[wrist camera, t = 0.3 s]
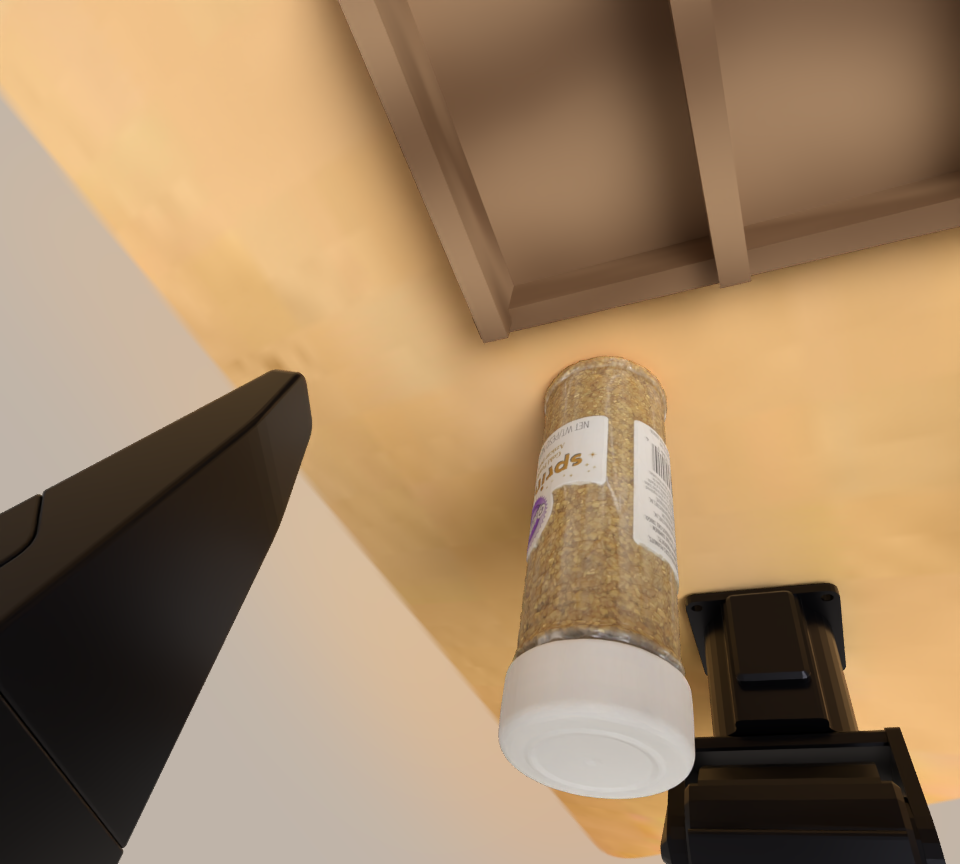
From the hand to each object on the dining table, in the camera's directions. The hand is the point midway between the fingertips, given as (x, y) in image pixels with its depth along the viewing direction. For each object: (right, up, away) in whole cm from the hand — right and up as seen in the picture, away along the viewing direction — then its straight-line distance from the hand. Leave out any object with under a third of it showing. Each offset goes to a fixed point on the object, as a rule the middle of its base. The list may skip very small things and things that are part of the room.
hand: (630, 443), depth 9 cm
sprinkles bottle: (+3, +1, +17) cm, 17 cm away
